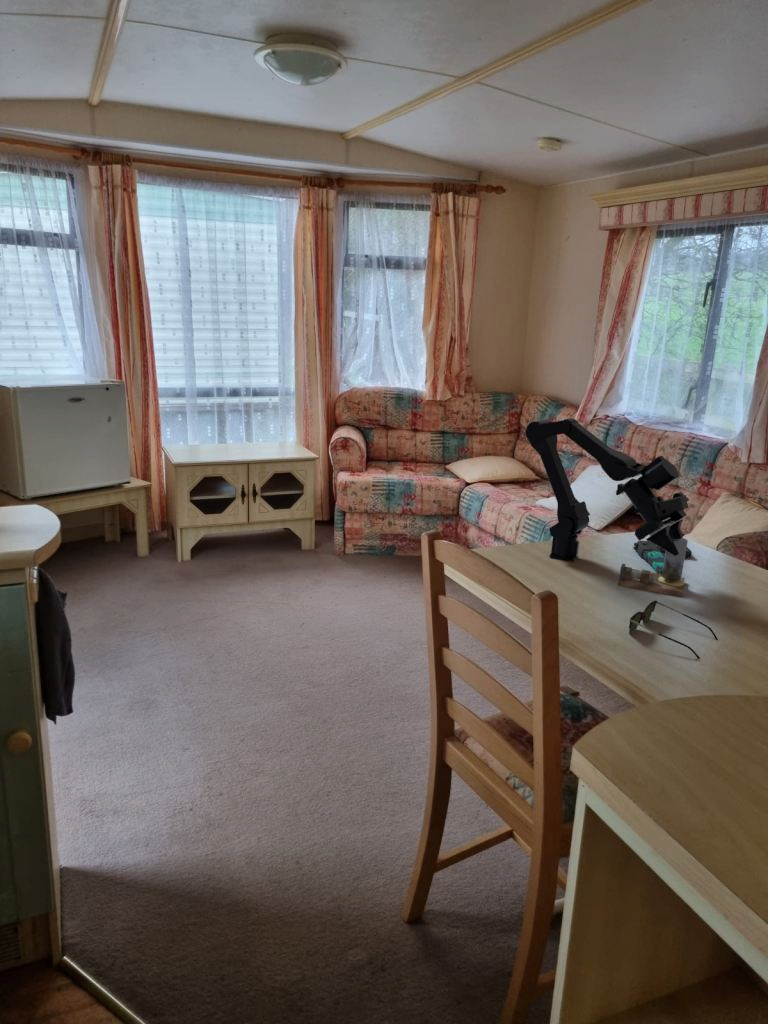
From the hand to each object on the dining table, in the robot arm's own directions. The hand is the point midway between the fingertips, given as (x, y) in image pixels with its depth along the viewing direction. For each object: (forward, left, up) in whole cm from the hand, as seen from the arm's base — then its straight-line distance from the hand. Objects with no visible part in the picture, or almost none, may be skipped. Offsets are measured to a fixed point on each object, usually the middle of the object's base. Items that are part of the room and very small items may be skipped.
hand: (681, 552), depth 175 cm
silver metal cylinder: (-1, 0, -7) cm, 7 cm away
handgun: (-3, +20, -10) cm, 23 cm away
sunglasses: (+1, -31, -10) cm, 33 cm away
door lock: (-6, 0, -9) cm, 11 cm away
